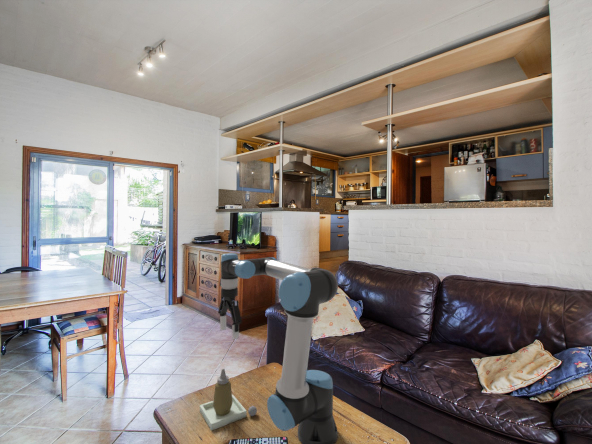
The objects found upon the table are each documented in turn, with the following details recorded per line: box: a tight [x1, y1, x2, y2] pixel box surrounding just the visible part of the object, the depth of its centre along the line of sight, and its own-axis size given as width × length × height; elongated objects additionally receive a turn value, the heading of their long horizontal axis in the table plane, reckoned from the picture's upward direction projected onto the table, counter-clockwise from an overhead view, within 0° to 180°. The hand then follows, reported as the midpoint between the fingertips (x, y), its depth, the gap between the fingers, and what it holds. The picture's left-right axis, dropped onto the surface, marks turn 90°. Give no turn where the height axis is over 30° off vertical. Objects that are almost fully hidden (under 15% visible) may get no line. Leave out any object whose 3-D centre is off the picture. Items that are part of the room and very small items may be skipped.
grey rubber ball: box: [247, 405, 258, 417], centre depth 126 cm, size 4×4×4 cm
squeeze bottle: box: [212, 368, 233, 416], centre depth 127 cm, size 8×8×18 cm
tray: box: [199, 393, 248, 432], centre depth 127 cm, size 15×15×2 cm
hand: (229, 334), depth 137 cm, fingers open, 13 cm apart
